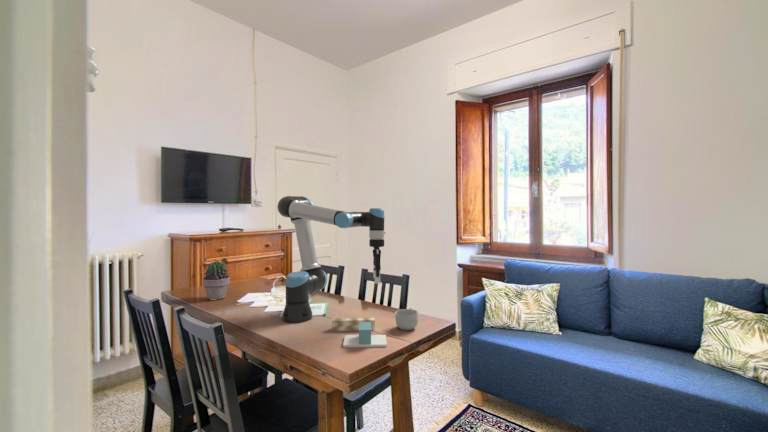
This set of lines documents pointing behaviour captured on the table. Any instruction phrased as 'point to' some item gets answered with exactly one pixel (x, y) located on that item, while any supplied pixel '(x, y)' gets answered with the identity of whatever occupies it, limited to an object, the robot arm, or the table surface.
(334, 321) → the beige mottled long block
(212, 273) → the potted plant
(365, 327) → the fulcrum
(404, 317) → the teacup
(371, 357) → the table surface
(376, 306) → the table surface
